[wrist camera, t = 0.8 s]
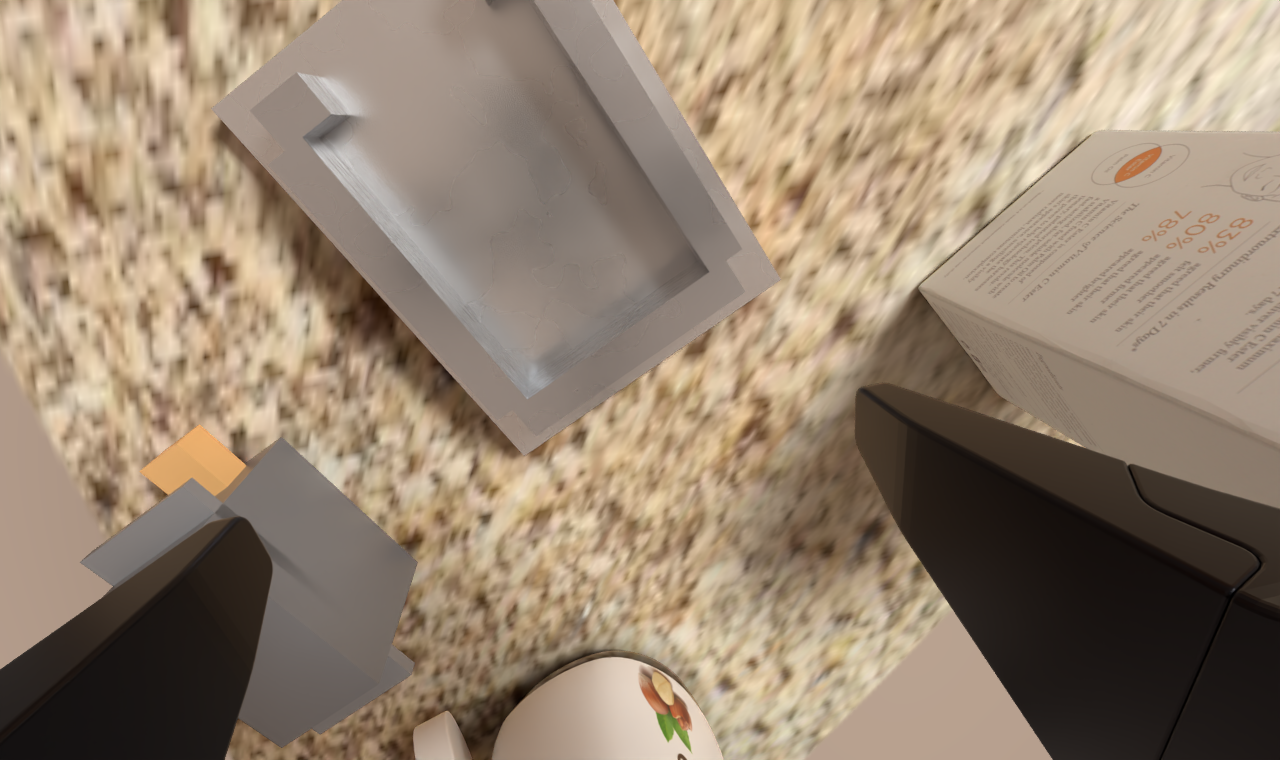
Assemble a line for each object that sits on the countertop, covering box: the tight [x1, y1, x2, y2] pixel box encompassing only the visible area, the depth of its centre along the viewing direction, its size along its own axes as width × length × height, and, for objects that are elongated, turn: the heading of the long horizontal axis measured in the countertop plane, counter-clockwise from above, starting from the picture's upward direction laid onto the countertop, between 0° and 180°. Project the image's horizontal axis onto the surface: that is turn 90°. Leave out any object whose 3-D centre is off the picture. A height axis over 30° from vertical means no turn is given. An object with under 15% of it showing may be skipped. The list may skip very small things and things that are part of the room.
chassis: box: [211, 0, 781, 456], centre depth 19 cm, size 14×11×3 cm
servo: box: [80, 424, 418, 748], centre depth 21 cm, size 10×4×6 cm, turn 34°
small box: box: [918, 130, 1280, 508], centre depth 18 cm, size 8×6×13 cm
